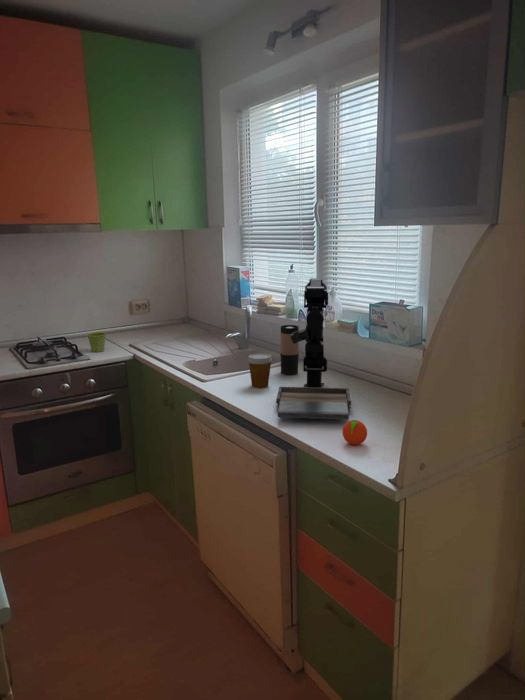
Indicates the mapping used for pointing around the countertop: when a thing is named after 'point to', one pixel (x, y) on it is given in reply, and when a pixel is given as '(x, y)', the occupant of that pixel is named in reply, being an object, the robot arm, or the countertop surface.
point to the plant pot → (97, 341)
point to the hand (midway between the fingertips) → (314, 365)
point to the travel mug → (289, 350)
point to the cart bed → (314, 395)
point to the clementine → (354, 432)
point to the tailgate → (313, 410)
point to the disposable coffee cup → (259, 369)
